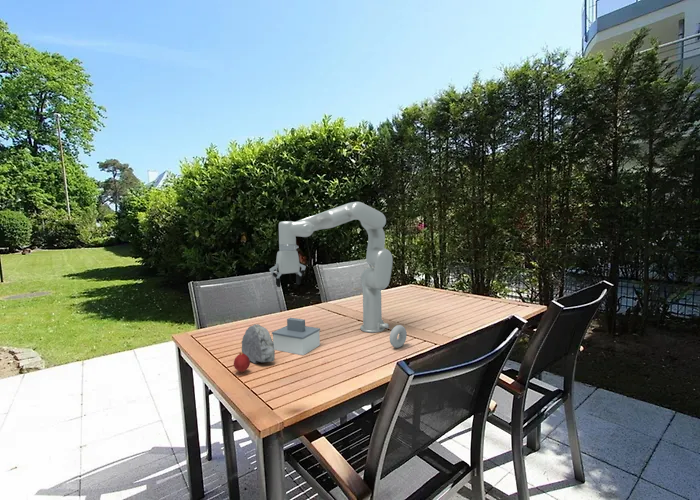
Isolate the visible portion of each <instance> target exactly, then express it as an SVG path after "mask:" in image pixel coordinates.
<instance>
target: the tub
mask: <svg viewBox="0 0 700 500" xmlns="http://www.w3.org/2000/svg"><path fill="white" fill-rule="evenodd" d="M320 337H321V336H320V331H318V332H316V333H314V334H312V335H310V336H308V337H306V338H304V339H297V338H291V337H286V336H280V335H274V334H272V341H273V344H274V350H275V351H279V352H284V353H291V354H294V355H300V356H304V355H306V354H308V353H309V352H311V351H314V349H316V348H318V347H319V346H320V345H321V341H320V340H321V339H320Z"/></svg>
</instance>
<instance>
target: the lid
mask: <svg viewBox="0 0 700 500" xmlns="http://www.w3.org/2000/svg"><path fill="white" fill-rule="evenodd" d="M286 323H287V324H286V326H283V327H281V328H278V329H276V330H274V331H272V332H271V335H273V334H274V335H280V336H286V337H291V338H297V339H304V338H306V337H308V336H310V335H312V334H314V333H316V332H318V331H319V332H321V328H319V327H313V326H307V325H306V319H301V318H297V317H296V318H294V317H289V318H286Z"/></svg>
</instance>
